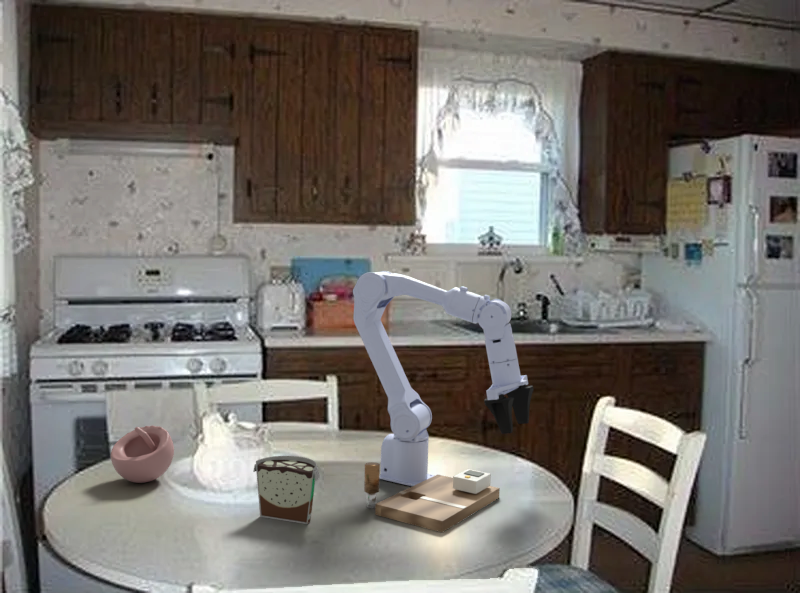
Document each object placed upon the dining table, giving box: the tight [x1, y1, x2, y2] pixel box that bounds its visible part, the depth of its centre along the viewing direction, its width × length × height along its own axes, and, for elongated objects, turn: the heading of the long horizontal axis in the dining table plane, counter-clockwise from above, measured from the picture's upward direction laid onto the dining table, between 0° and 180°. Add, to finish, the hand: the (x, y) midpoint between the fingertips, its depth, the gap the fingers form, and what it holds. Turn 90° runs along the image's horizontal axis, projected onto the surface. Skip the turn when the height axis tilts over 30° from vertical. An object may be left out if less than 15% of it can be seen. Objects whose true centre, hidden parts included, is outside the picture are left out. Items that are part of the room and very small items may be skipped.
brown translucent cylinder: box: [363, 461, 381, 509], centre depth 143 cm, size 3×3×8 cm
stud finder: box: [452, 468, 492, 494], centre depth 148 cm, size 5×6×3 cm
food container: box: [253, 455, 320, 525], centre depth 138 cm, size 12×6×10 cm, turn 71°
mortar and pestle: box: [110, 425, 175, 484], centre depth 154 cm, size 12×12×11 cm
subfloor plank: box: [374, 474, 500, 533], centre depth 144 cm, size 14×22×2 cm, turn 147°
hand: (515, 428), depth 152 cm, fingers open, 7 cm apart
